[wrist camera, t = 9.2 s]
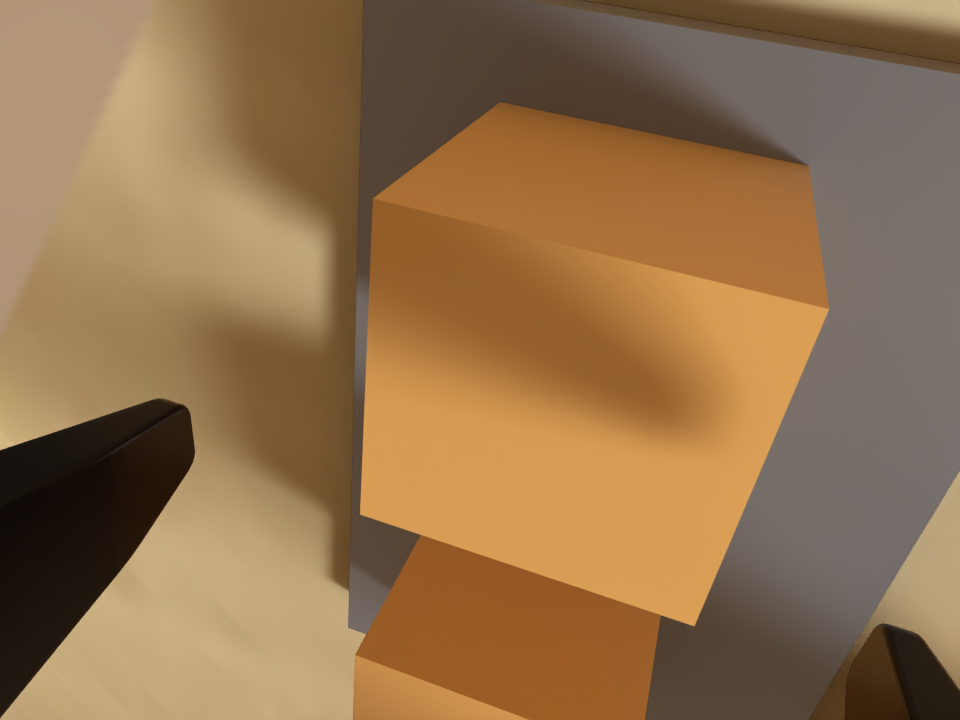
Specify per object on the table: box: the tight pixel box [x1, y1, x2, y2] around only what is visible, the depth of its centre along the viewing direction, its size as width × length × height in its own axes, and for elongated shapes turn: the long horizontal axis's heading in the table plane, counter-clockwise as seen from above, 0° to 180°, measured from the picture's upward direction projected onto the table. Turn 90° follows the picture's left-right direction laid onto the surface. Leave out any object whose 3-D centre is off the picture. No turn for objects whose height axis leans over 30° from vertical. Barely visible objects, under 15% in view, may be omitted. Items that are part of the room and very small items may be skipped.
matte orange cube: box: [360, 102, 829, 626], centre depth 14 cm, size 6×6×6 cm
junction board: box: [348, 0, 960, 720], centre depth 17 cm, size 14×20×7 cm
